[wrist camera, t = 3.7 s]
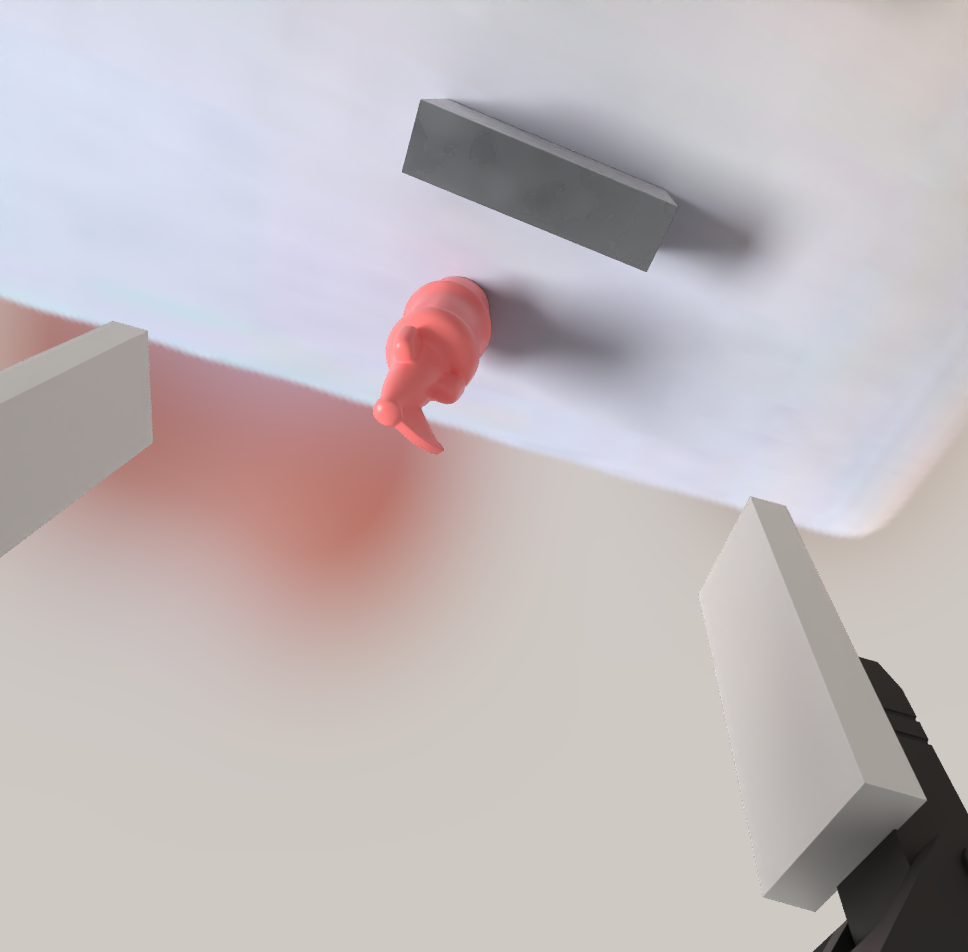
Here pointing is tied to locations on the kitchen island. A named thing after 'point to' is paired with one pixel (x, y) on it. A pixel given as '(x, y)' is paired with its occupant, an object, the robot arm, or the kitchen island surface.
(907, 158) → the kitchen island surface
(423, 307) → the figurine
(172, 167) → the kitchen island surface
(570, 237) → the grey blocks
